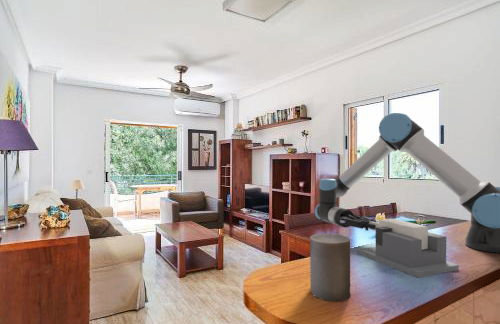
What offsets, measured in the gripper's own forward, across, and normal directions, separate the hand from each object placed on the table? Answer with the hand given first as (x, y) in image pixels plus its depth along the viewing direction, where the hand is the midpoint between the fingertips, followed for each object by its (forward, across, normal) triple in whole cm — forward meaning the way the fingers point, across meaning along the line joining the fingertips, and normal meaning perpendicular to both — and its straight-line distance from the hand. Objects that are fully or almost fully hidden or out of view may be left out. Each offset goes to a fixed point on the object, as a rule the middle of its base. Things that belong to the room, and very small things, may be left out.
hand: (384, 228), depth 107 cm
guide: (+8, 0, -9) cm, 12 cm away
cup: (-4, -21, -9) cm, 23 cm away
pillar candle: (+20, +37, -9) cm, 43 cm away
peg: (+7, 0, -4) cm, 8 cm away
